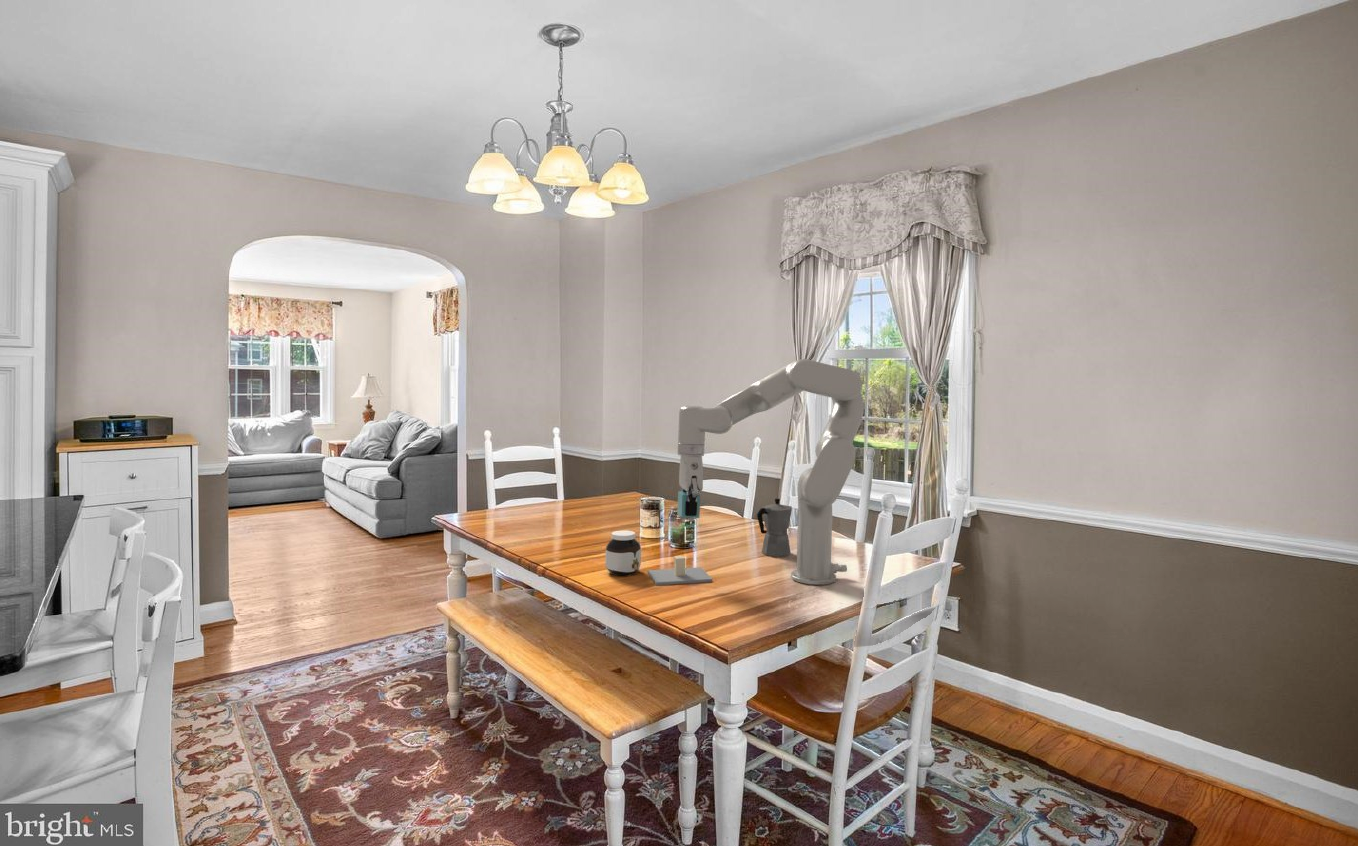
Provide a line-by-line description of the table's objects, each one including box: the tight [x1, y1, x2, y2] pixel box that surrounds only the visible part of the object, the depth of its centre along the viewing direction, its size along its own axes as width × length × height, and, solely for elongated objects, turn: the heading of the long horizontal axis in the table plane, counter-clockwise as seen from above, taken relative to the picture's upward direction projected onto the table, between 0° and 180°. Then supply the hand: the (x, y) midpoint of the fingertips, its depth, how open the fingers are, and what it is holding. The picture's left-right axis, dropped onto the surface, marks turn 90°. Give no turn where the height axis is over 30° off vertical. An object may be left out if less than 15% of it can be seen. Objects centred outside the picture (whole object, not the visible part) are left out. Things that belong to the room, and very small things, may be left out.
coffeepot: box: [756, 497, 793, 558], centre depth 226 cm, size 15×9×18 cm, turn 129°
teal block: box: [676, 491, 701, 519], centre depth 199 cm, size 5×5×7 cm
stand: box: [647, 555, 713, 586], centre depth 199 cm, size 16×12×6 cm
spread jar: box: [604, 530, 642, 577], centre depth 205 cm, size 12×11×12 cm
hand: (688, 512), depth 199 cm, fingers closed on teal block, 5 cm apart
